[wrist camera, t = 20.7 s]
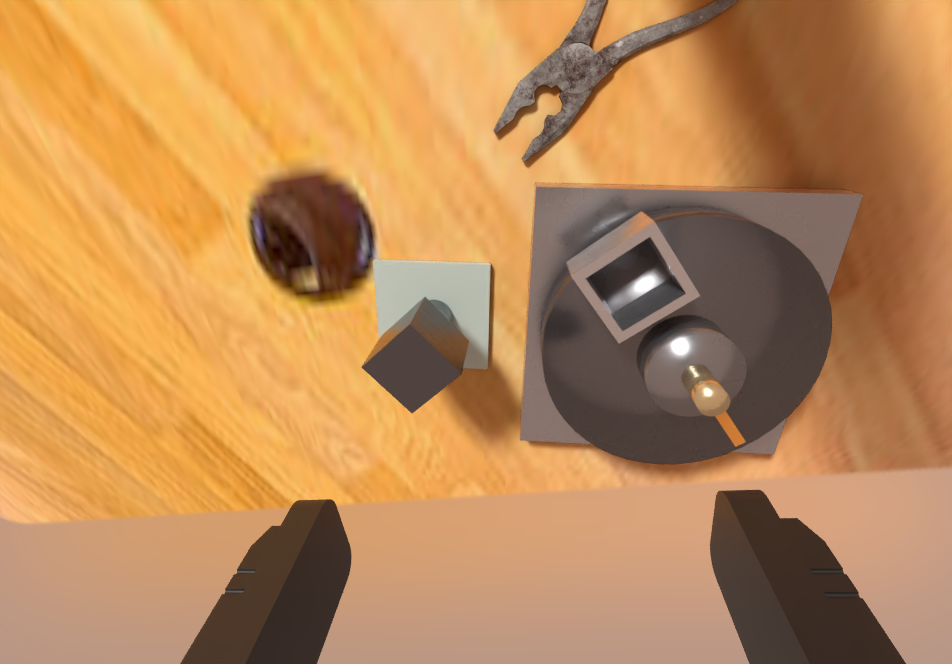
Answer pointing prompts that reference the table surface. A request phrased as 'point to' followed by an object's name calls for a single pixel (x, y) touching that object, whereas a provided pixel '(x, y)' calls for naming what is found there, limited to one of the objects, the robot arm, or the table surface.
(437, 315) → the block
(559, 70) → the pliers
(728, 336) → the chuck collar
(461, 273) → the mat
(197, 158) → the table surface
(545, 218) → the drill stand
